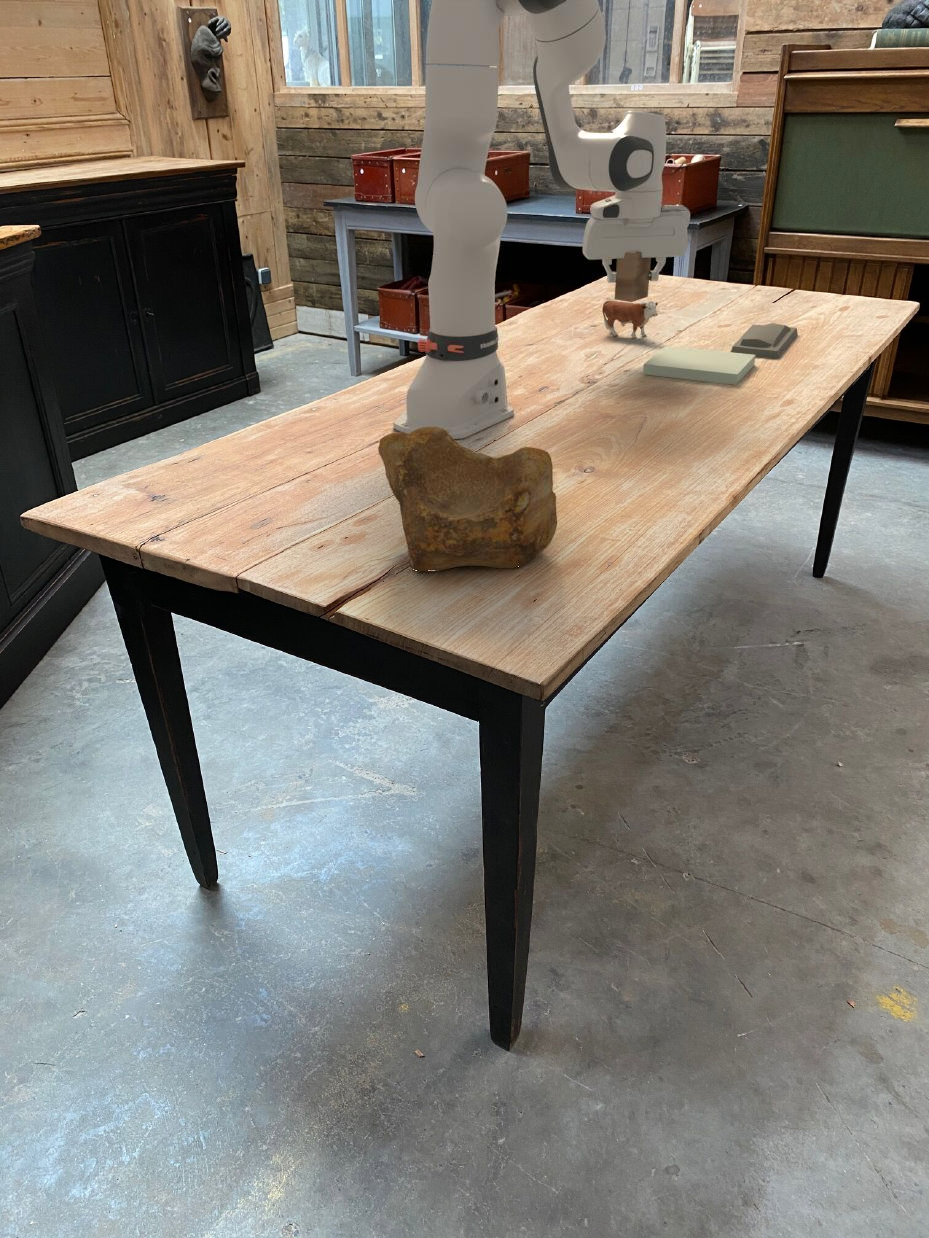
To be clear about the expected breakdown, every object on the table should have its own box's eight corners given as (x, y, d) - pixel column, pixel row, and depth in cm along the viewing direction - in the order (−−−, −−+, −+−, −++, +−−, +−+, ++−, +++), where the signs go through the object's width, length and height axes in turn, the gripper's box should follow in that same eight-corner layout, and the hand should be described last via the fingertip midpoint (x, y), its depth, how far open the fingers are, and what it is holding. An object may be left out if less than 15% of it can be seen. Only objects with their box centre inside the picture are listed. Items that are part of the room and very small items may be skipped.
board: (736, 385, 174) (737, 374, 173) (643, 374, 182) (643, 364, 181) (754, 365, 185) (755, 354, 184) (665, 355, 192) (666, 346, 191)
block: (631, 302, 185) (635, 252, 180) (614, 299, 187) (617, 250, 182) (647, 296, 189) (651, 248, 184) (630, 294, 191) (634, 246, 186)
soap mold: (798, 337, 203) (800, 321, 202) (778, 362, 188) (781, 344, 187) (750, 333, 208) (752, 316, 206) (727, 356, 193) (729, 339, 191)
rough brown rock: (344, 577, 116) (330, 469, 108) (400, 513, 129) (392, 412, 120) (520, 613, 109) (520, 501, 100) (562, 542, 121) (565, 437, 113)
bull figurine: (652, 342, 201) (655, 303, 197) (598, 334, 209) (599, 296, 204) (662, 338, 204) (665, 299, 200) (608, 330, 211) (609, 292, 207)
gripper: (686, 202, 183) (679, 276, 190) (582, 205, 181) (579, 280, 188) (696, 206, 177) (688, 283, 184) (589, 209, 176) (585, 286, 183)
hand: (632, 281), depth 186 cm, fingers closed on block, 7 cm apart
